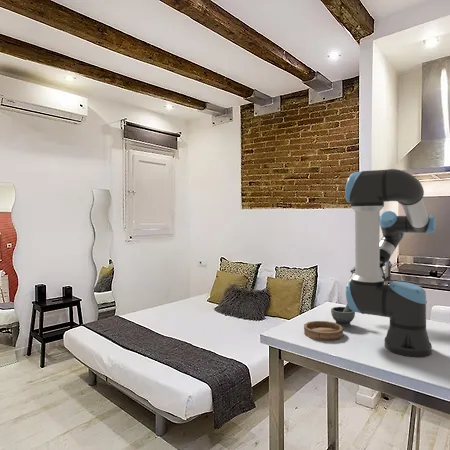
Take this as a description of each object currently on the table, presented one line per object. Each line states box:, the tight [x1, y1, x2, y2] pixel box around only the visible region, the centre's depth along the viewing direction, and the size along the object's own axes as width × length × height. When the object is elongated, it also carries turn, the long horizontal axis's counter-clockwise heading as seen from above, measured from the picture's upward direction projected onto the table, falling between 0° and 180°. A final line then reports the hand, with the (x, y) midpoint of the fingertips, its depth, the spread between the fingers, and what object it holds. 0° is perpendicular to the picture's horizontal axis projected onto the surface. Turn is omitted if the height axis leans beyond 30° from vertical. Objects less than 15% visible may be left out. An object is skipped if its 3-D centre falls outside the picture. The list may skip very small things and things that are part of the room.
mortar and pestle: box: [330, 303, 356, 329], centre depth 154 cm, size 11×9×12 cm
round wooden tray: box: [303, 320, 344, 342], centre depth 143 cm, size 15×15×3 cm
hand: (361, 288), depth 159 cm, fingers open, 13 cm apart
